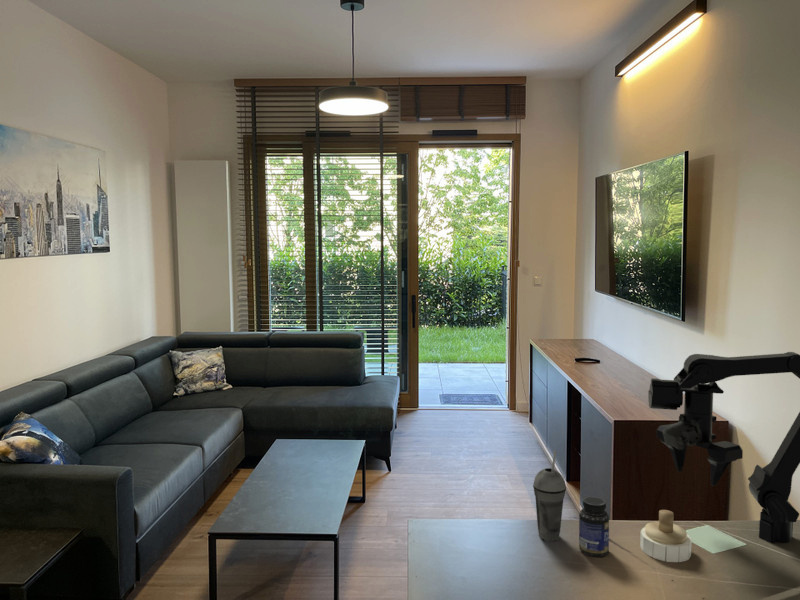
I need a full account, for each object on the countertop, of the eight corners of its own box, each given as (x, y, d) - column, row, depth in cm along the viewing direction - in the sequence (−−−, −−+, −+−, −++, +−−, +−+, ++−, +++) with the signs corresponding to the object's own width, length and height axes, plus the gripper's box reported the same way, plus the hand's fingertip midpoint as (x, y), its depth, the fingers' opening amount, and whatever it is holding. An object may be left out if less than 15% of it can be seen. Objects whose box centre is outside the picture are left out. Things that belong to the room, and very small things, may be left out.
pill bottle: (610, 559, 124) (611, 508, 123) (580, 556, 125) (581, 505, 124) (606, 544, 130) (607, 496, 129) (577, 542, 131) (578, 494, 130)
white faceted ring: (664, 539, 132) (665, 522, 132) (700, 559, 123) (701, 541, 123) (630, 547, 128) (631, 529, 128) (665, 569, 120) (666, 550, 119)
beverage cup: (531, 528, 138) (531, 444, 136) (563, 529, 137) (564, 445, 135) (533, 543, 131) (534, 455, 129) (567, 545, 130) (568, 456, 128)
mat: (707, 528, 137) (707, 524, 137) (746, 548, 128) (747, 544, 128) (674, 536, 133) (674, 532, 133) (713, 557, 124) (713, 553, 124)
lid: (665, 524, 131) (665, 502, 130) (695, 540, 123) (696, 517, 123) (636, 530, 128) (637, 508, 127) (666, 547, 120) (666, 524, 120)
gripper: (639, 404, 139) (637, 469, 140) (707, 426, 122) (704, 499, 123) (675, 400, 143) (673, 463, 144) (745, 420, 126) (743, 491, 127)
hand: (696, 478), depth 135 cm, fingers open, 9 cm apart
